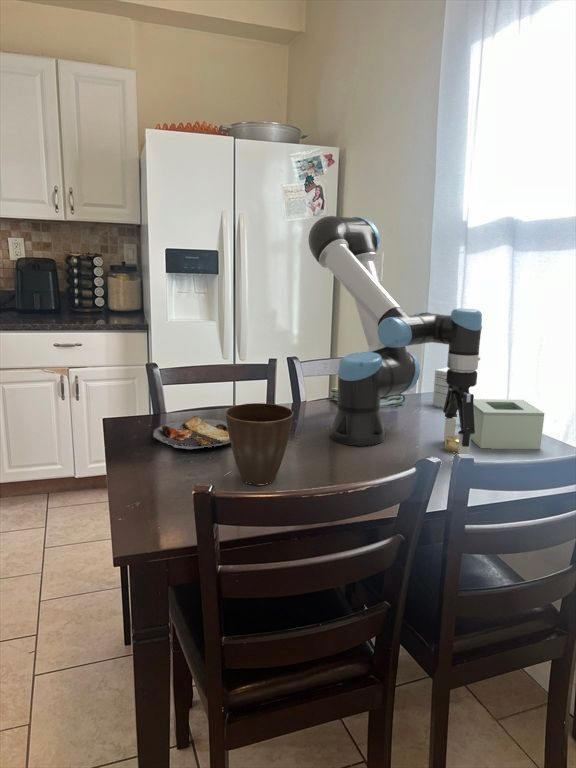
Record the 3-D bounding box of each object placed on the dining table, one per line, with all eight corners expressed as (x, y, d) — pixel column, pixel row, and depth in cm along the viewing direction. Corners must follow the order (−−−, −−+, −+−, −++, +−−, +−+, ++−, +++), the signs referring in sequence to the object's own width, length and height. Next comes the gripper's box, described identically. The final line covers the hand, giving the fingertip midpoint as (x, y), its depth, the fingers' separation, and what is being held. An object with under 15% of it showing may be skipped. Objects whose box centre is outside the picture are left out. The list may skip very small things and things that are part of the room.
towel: (327, 398, 204) (328, 384, 203) (380, 394, 211) (380, 380, 210) (350, 412, 188) (351, 396, 186) (406, 406, 195) (407, 392, 194)
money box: (480, 448, 153) (483, 412, 151) (464, 432, 166) (467, 399, 164) (540, 449, 153) (544, 413, 151) (519, 432, 167) (523, 399, 164)
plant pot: (293, 468, 137) (295, 404, 133) (289, 494, 122) (291, 422, 119) (231, 466, 138) (231, 402, 134) (220, 491, 123) (219, 420, 120)
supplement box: (444, 402, 200) (447, 366, 197) (463, 406, 194) (466, 370, 191) (431, 405, 195) (434, 369, 192) (450, 410, 190) (453, 373, 187)
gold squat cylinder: (447, 453, 149) (448, 442, 148) (441, 446, 155) (442, 435, 154) (469, 453, 149) (470, 442, 148) (462, 446, 155) (463, 436, 154)
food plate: (137, 436, 159) (137, 424, 158) (205, 420, 175) (205, 409, 174) (191, 462, 142) (191, 448, 141) (260, 442, 158) (260, 430, 157)
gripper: (493, 380, 135) (485, 465, 140) (462, 360, 159) (456, 434, 164) (461, 379, 135) (454, 465, 140) (435, 360, 159) (430, 434, 164)
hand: (455, 449), depth 152 cm, fingers open, 12 cm apart
